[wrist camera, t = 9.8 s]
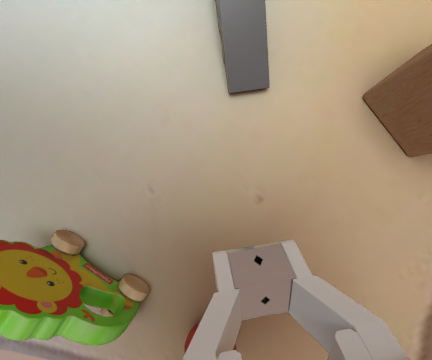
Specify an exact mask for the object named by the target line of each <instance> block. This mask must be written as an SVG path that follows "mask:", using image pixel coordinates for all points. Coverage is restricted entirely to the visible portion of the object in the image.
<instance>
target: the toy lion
mask: <svg viewBox="0 0 432 360" xmlns="http://www.w3.org/2000/svg"><path fill="white" fill-rule="evenodd" d="M51 243H52V245H50V246H47V247H43V248H36V247H34V246H32V245H30V244H28V243H25V242H8V241H5V240H0V334H1V335H2V336H4V337H6V338H8V339H11V340H16V341H24V340H28V339H31V338H36V339H40V340H48V339H50V338H52V337H54V336H63V337H65V338H67V339H70V340H72V341H75V342H78V343H82V344H87V345H102V344H106V343H109V342H112V341H114V340H115V339H117V338H118V337H119V336H120V335H121V334H122V333H123V332H124V331H125V329H126V328H127V327H128V325H129V324H130V322H131V320H132V319H133V317H134V316H135V314H136V312H137V310H138V308H139V304H140V301H143V300H144V299H145V297H146V296H147V294H148V293H149V287H148V286H147V284H146V283H145V282H144V281H143V280H142V279H140V278H139V277H137V276H134V275H131V274H126V275H124V276H123V277H122V279H121V280H120V282H117V281H115V280H113V279H111V278H109V277H108V276H106V275H104V274H103V273H101V272H100V271H98V270H97V269H95V268H94V267H93V266H91V265H90V264H89V263H88V262H87V261H86V260H85V259H84V258H83V257H82V256H81V255H80V254H79V253H80V251H81V250H82V248H83V247H84V245H85V243H84V241H83V240H82V239H81V238H80V237H79V236H78V235H76V234H74V233H72V232H69V231H66V230H57V231H56V232H55V233H54V235H53V237H52V238H51ZM83 303H84V304H87V305H90V306H94V307H100V308H102V309H101V315H102V316H100V315H97V314H95V313H93V312H91V311H90V310H89V309H87V308H86V307H85V306H84V304H83Z"/></svg>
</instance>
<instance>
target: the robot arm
mask: <svg viewBox="0 0 432 360" xmlns="http://www.w3.org/2000/svg"><path fill="white" fill-rule="evenodd" d="M212 256H213V264H214V272H215V280H216V287H217V293H214V295H213V297H212V299H211V301H210V303H209V305H208V307H207V309H206V311H205V313H204V315H203V318H202V320H201V322H200V324H199V326H198V328H197V330H196V332H195V334H194V336H193V338H192V340H191V343H190V345H189V347H188V349H187V351H186V353H185V355H184V357H183V360H242V357H241V354H240V353H239V352H237V351H236V350H233V348H234V345H235V342H236V339H237V336H238V332H239V329H240V326H241V323H242V320H247V319H252V318H257V317H262V316H267V315H274V314H281V313H287V312H289V314H290V315H291V316H292V317H293V318H294V319H295V320H296V321H297V322H298V323H299V324H300V325H301V326H302V327H303V328H304V329H305V330H306V331H307V332H308V333H309V334H310V335H311V336H312V337H313V338H314V339H315V340H316V341H317V342H318V343H319V344H320V345H321V346H322V347H323V348H324V349H325V350H326V351H327V352H328V353H329V356H328V359H327V360H410V359H409V358H408V356H407V355H406V353H405V352H404V350H403V348H402V347H401V345H400V344H399V342H398V341H397V339H396V338H395V336H394V335H393V333H392V332H391V330H390V329H389V327H388V326H387V324H386V323H385V321H383V320H382V319H380V318H379V317H378V316H376V315H375V314H373V313H372V312H370V311H369V310H367V309H366V308H364V307H363V306H361V305H360V304H358V303H357V302H355V301H354V300H353V299H351V298H350V297H348V296H347V295H345V294H344V293H342V292H341V291H339V290H338V289H336V288H335V287H333V286H332V285H330V284H329V283H327V282H326V281H325V280H323V279H322V278H320V277H319V276H313V275H312V273H311V271H310V269H309V267H308V265H307V264H306V262H305V260H304V258H303V256H302V254H301V252H300V250H299V248H298V246H297V244H296V242H295V241H294V240H286V241H280V242H273V243H267V244H262V245H256V246H252V247H245V248H237V249H230V250H224V251H217V252H212Z"/></svg>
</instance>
